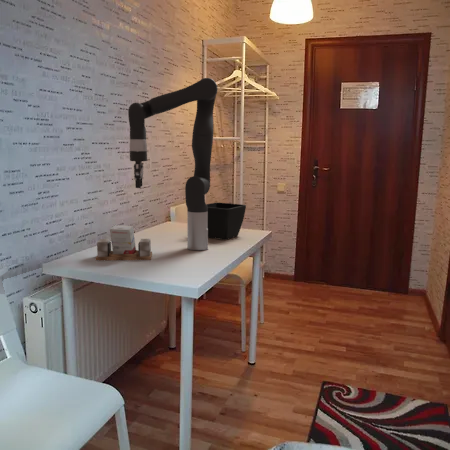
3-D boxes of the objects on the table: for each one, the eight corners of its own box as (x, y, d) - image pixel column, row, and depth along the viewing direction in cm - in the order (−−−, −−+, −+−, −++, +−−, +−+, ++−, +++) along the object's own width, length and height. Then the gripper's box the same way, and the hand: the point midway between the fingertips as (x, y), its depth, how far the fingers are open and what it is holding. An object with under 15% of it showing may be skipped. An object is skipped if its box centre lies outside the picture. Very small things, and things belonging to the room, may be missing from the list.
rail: (152, 254, 191) (151, 238, 190) (150, 259, 182) (150, 242, 180) (99, 255, 189) (99, 238, 188) (95, 260, 179) (95, 243, 178)
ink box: (136, 251, 187) (133, 225, 182) (132, 256, 182) (129, 229, 178) (117, 250, 188) (114, 224, 184) (112, 255, 184) (109, 229, 179)
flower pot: (227, 241, 220) (228, 208, 218) (196, 237, 230) (196, 205, 227) (246, 236, 236) (247, 204, 234) (216, 232, 246) (216, 202, 243)
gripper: (131, 150, 201) (132, 186, 204) (127, 150, 187) (128, 188, 190) (148, 150, 202) (148, 186, 205) (145, 150, 188) (146, 188, 191)
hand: (139, 187), depth 197 cm, fingers open, 8 cm apart
